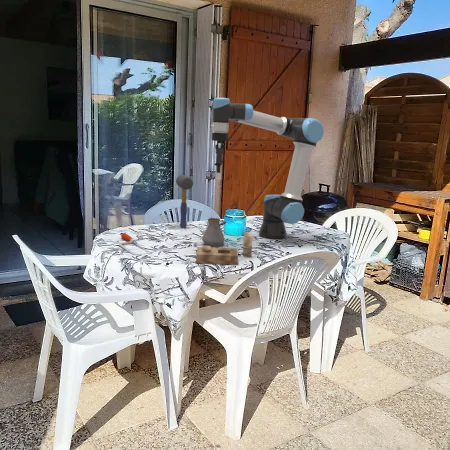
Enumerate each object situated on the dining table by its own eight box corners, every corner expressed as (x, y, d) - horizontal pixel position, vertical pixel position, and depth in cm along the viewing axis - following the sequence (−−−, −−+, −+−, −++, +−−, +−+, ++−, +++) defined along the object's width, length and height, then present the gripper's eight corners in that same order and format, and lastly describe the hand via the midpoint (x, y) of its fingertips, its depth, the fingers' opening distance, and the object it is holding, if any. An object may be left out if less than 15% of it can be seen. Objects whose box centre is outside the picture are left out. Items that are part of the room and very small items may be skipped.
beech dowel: (251, 254, 216) (252, 232, 214) (251, 257, 212) (253, 234, 210) (242, 254, 216) (243, 231, 214) (242, 257, 212) (244, 233, 210)
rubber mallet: (192, 229, 260) (194, 176, 254) (179, 230, 258) (181, 176, 251) (186, 224, 272) (187, 174, 265) (174, 225, 269) (175, 174, 262)
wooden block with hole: (236, 256, 212) (237, 244, 211) (237, 264, 200) (238, 251, 199) (197, 255, 211) (197, 242, 210) (196, 263, 200) (196, 249, 198)
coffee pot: (198, 242, 235) (199, 213, 231) (219, 240, 239) (220, 212, 236) (213, 253, 215) (214, 222, 212) (235, 252, 220) (237, 221, 217)
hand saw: (155, 250, 211) (135, 253, 205) (155, 257, 212) (135, 260, 206) (126, 232, 236) (107, 234, 231) (126, 238, 237) (107, 240, 231)
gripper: (212, 131, 226) (211, 174, 230) (211, 132, 201) (209, 180, 206) (228, 131, 226) (226, 175, 230) (228, 133, 201) (226, 181, 206)
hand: (218, 178), depth 218 cm, fingers open, 13 cm apart
